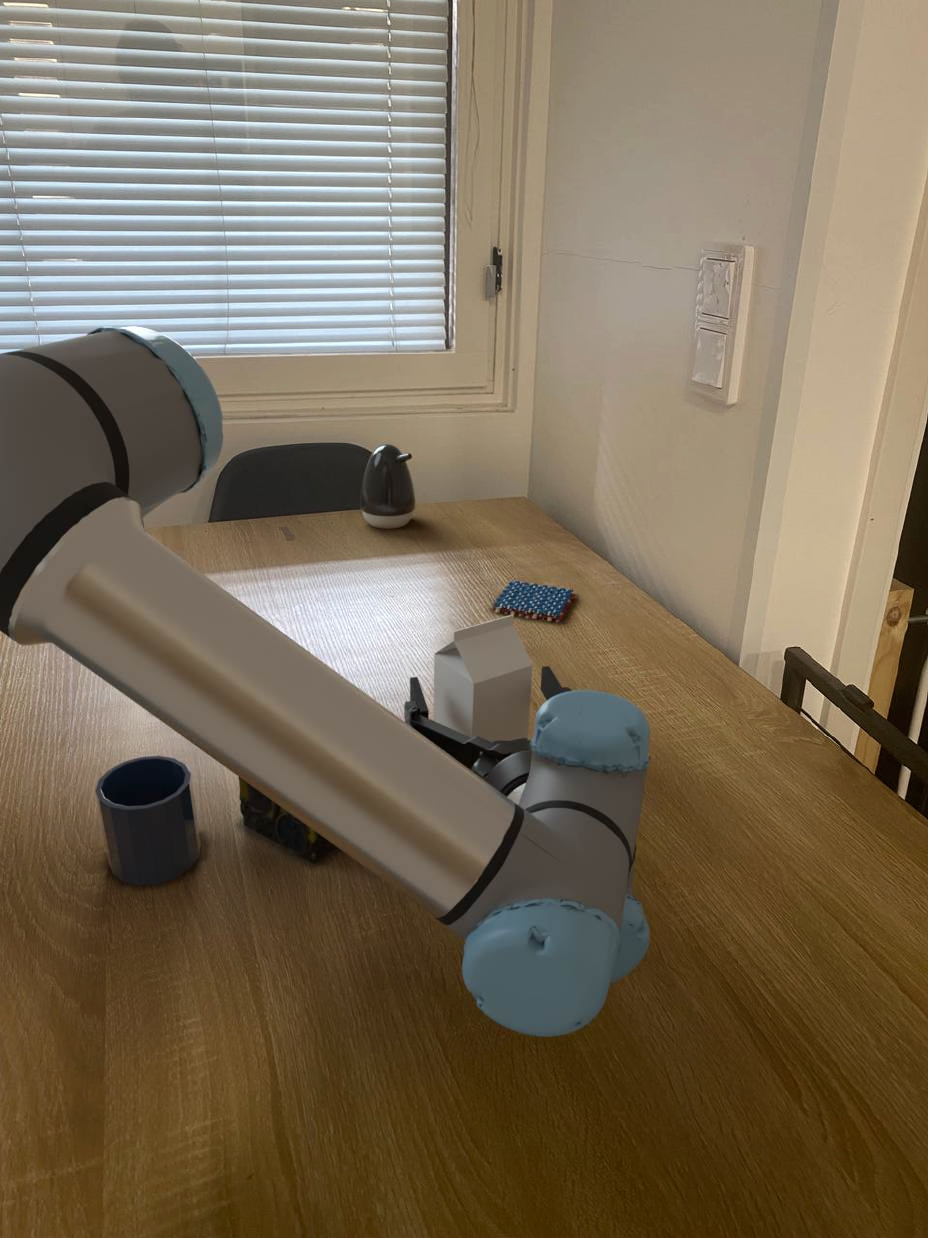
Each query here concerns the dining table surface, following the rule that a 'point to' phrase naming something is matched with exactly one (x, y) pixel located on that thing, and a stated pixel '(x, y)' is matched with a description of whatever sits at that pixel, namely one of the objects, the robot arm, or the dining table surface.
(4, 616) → the robot arm
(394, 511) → the pump dispenser
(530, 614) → the woven mat
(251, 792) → the candle
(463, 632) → the milk carton
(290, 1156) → the dining table surface
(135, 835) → the blue cup
